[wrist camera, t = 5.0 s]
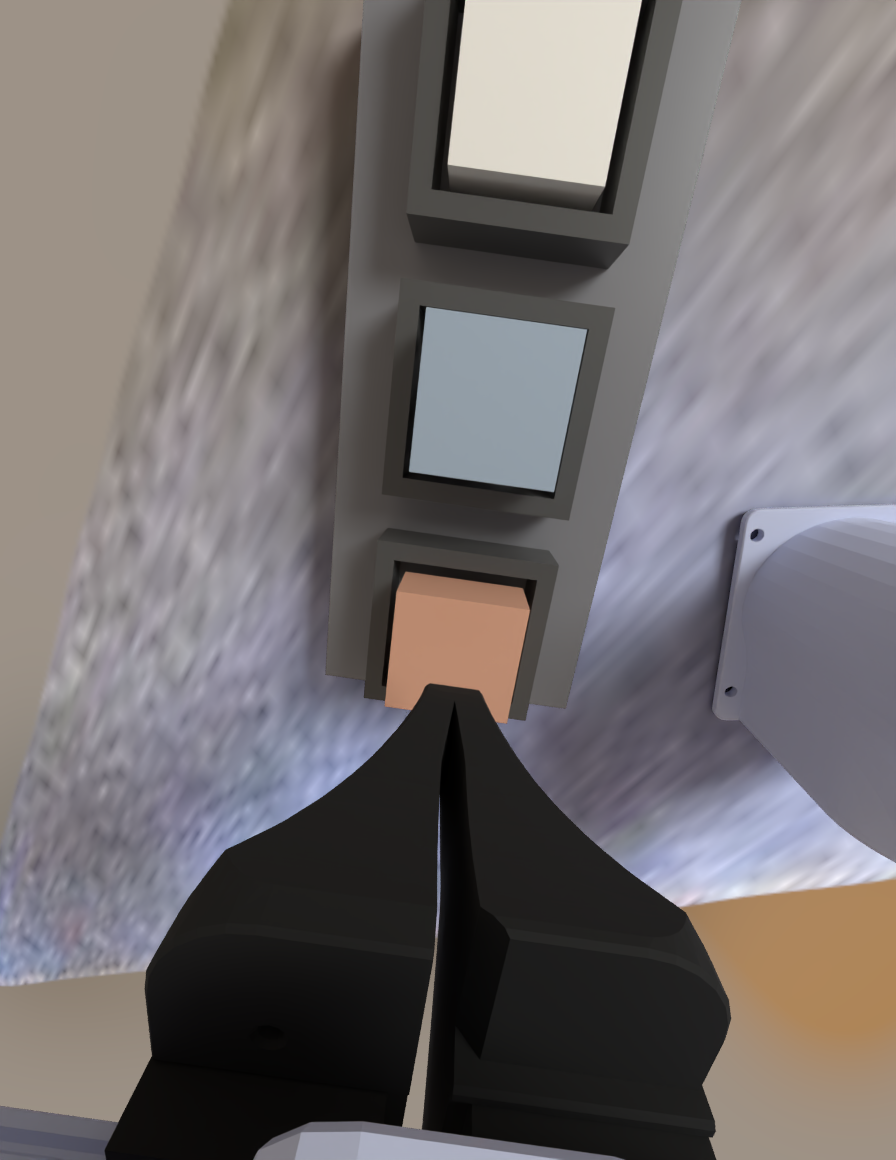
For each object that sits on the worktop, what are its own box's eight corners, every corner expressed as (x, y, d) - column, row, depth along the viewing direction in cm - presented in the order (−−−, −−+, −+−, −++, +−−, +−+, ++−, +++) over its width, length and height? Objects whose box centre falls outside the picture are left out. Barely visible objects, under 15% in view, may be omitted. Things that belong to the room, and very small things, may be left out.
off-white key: (585, 220, 14) (604, 186, 12) (450, 201, 14) (448, 164, 12) (619, 42, 12) (647, -28, 10) (470, 21, 12) (471, -54, 10)
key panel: (556, 683, 21) (576, 739, 17) (338, 652, 21) (309, 701, 17) (705, 54, 14) (792, -85, 10) (380, 9, 14) (347, -147, 10)
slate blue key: (543, 483, 15) (553, 492, 13) (417, 466, 15) (408, 471, 13) (570, 344, 13) (586, 329, 11) (432, 324, 13) (426, 307, 11)
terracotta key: (502, 690, 17) (506, 723, 15) (394, 675, 17) (384, 706, 15) (522, 588, 16) (529, 609, 14) (405, 571, 16) (396, 591, 14)
